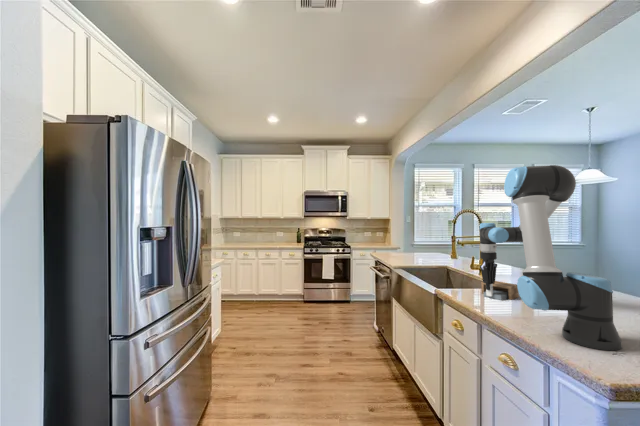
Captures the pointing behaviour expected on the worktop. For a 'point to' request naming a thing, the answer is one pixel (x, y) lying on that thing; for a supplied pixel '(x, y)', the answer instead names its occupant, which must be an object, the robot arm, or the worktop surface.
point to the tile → (498, 294)
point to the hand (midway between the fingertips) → (489, 295)
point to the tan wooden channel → (504, 288)
